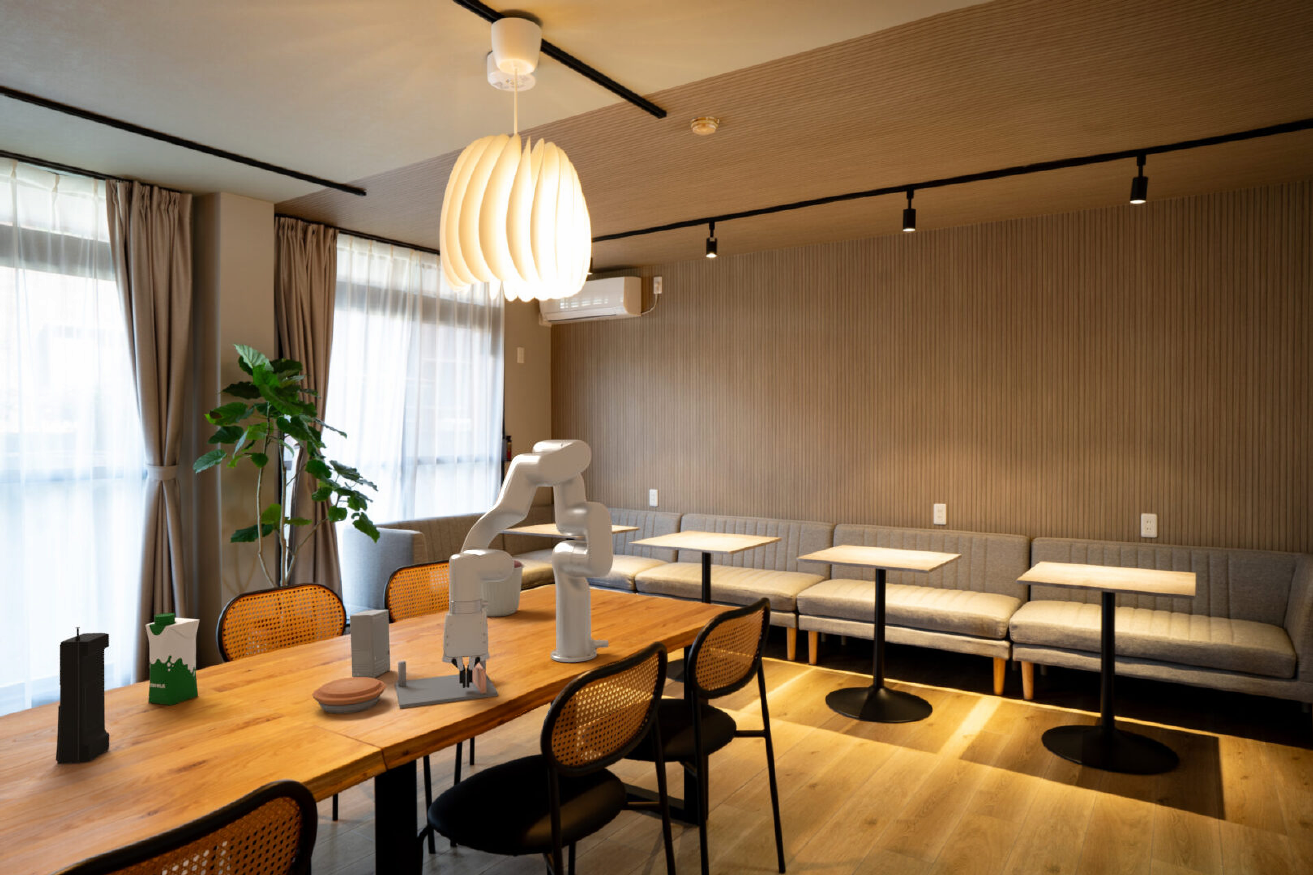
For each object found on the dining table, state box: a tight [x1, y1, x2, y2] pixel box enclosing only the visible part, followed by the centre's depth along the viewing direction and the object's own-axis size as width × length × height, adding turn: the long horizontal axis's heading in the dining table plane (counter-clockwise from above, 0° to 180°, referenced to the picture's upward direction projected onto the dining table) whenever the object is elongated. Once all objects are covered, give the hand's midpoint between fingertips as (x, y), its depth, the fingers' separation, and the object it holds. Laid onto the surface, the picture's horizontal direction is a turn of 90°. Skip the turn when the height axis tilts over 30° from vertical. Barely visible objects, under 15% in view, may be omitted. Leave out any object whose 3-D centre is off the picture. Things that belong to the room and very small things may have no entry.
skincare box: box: [349, 609, 391, 679], centre depth 200 cm, size 8×7×16 cm
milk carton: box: [145, 612, 200, 706], centre depth 181 cm, size 9×9×20 cm
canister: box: [482, 559, 525, 617], centre depth 270 cm, size 18×18×21 cm
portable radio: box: [55, 626, 110, 765], centre depth 148 cm, size 8×6×25 cm
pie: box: [311, 677, 387, 714], centre depth 176 cm, size 15×16×5 cm
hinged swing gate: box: [394, 660, 499, 709], centre depth 185 cm, size 22×18×6 cm
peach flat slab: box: [468, 657, 487, 694], centre depth 186 cm, size 16×1×5 cm, turn 23°
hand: (466, 685), depth 181 cm, fingers closed
